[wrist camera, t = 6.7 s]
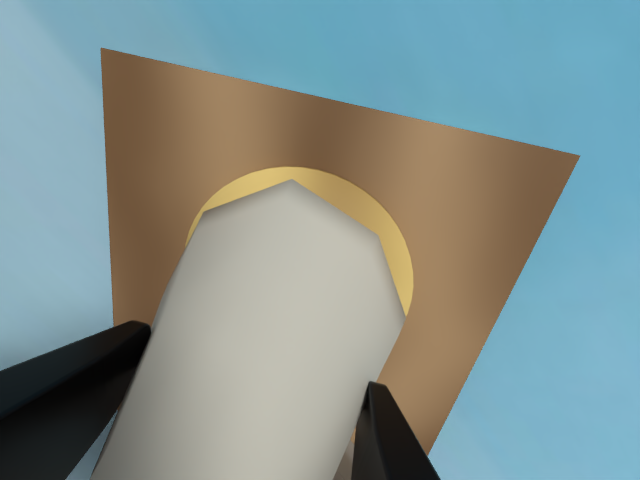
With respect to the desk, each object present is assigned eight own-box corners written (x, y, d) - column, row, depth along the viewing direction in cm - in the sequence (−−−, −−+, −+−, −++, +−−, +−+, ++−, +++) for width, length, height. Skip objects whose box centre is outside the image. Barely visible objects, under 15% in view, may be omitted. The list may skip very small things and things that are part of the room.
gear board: (135, 471, 19) (76, 564, 15) (128, 54, 11) (-9, 20, 7) (371, 537, 18) (373, 651, 14) (556, 151, 10) (678, 174, 6)
